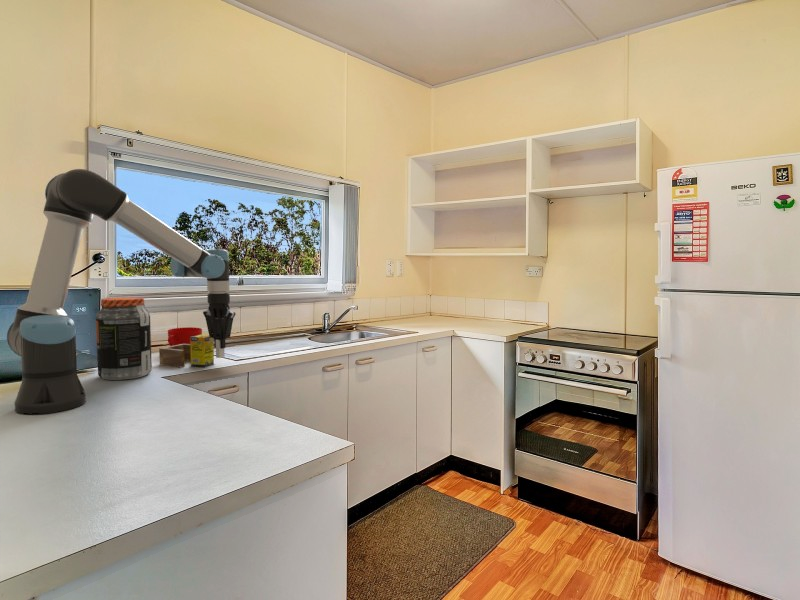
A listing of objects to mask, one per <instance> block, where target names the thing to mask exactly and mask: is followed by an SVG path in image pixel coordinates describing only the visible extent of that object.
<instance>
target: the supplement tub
mask: <svg viewBox="0 0 800 600" xmlns="http://www.w3.org/2000/svg"><path fill="white" fill-rule="evenodd" d="M100 300H101V301H100V306H101V308H100V309H99V311H98V312H97V313H96V316H95V331H96V332H95V333H96V357H97V376H98V377H99V378H100V379H102V380H108V381H121V380H123V381H124V380H133V379H138V378H142V377H144V376H146V375H149V374H150V373H151V371H152V367H153V366H152V364H153V363H152V362H153V361H152V335H151V334H152V333H151V330H152V329H151V315H150V312H149V310H148V309H147V308H146V306H145V298H144V297H111V298H109V297H108V298H101V299H100Z"/></svg>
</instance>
